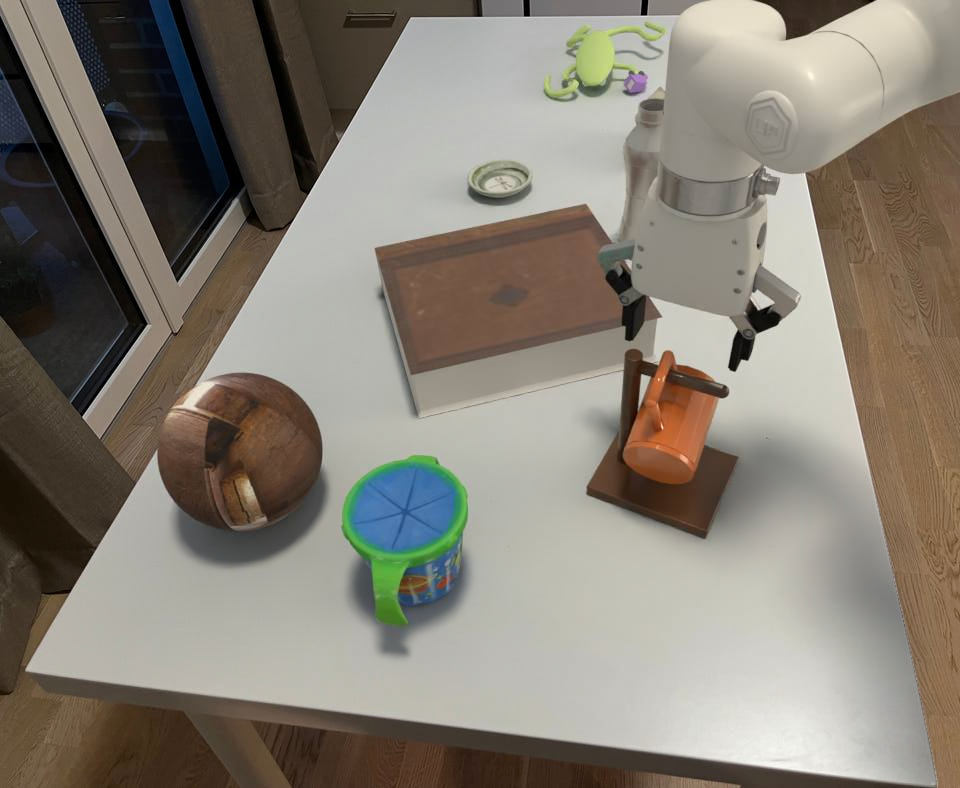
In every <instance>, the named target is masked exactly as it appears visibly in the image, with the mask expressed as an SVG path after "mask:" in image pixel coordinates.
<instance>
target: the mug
mask: <svg viewBox="0 0 960 788" xmlns="http://www.w3.org/2000/svg"><path fill="white" fill-rule="evenodd" d="M657 365H658V368H657V370H656V373H655V376H654V378H652V377H650V378H649V381H648V383H647V386H646V389H645V392H644V395H643V398H642V399H641V402H640V405H639V407H638V413H637V416H636V418H635V421H634V424H633V426H632V429H631V432H630V435H629V437H628V440H627V443H626V445H625V448H624V451H623V459H624V461H625V462H626V464H627V465H628V466H629V467H630V468H632V469H633V470H634V471H636V472H637V473H639V474H641V475H643V476H645V477H647V478H650V479H652V480H655V481H659V482H663V483H668V484H684V483H687V482H689V481H691V480H692V479H693V476H694V473H695V471H696V469H697V466H698V463H699V460H700V456H701V453H702V450H703V447H704V445H705V443H706V441H707V438H708V435H709V431H710V429H711V426H712V422H713V419H714V415H715V413H716V410H717V406H718V404H719V400H720V398H718V397H714V396H711V395H708V394H705V393H701V392H698V391H695V390H692V389H688V388H685V387H682V386H678V385H675V384H672V383H669V382H665V380H666V378H667V375H668V372H669V369H673V370H677V371H680V372H683V373H687V374H690V375H694V376H697V377H700V378H704V379H707V380H710V381H714V382H716V381H715V379H714V378H713V377H711V376H710V375H709V374H707V373H705V372H704V371H702V370H700V369H697V368H695V367H691V366H689V365H684V364H677V362H676V357H675V354H674V352H673V351H672V350H669V349H666V350H664V351H663V352H662V355H661V356H660V360H659V363H658V364H657Z"/></svg>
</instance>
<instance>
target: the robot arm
mask: <svg viewBox="0 0 960 788" xmlns="http://www.w3.org/2000/svg"><path fill="white" fill-rule="evenodd" d="M782 16H783V15H781V14H780V12H779V11H778V10H776V9H775V8H774V7H772V6H770V5H768V4H767V3H763V2H760V1H757V0H705V1H701V2H698V3H696V4H692V5H691V6H690V7H688V8H686V9H685V10H684V11H682V12H681V13H680V14H679V16H678V17H677V18H676V19H675V21H674V24H673V26H672V28H671V32H670V37H669V44H668V53H667V54H668V55H667V67H666V75H665V76H666V77H665V87H664V91H665V98H664V109H663V120H662V131H661V143H660V155H659V165H658V176H657V177H656V178H655V179H654V180H653V182H652V185H651V186H650V188H649V191H648V194H647V196H646V200H645V203H644V206H643V210H642V214H641V218H640V222H639V227H638V231H637V236H636V239H631V240H627V241H622V242H620V241H618V242H614V243H613V242H612V243H613V244H609V245H604V246H603V247H602V248H601V249H600V251H599V252H598V253H597V255H596V257H597V260H598V262H599V264H600V266H601V268H602V270H603V272H605V274H606V276H605V279H606V281H607V283H608V284H609V285H610V286H611V287H612V288H613V290H614V291H615V292H616V293H617V294H618V295H619V296H618V301H619V303H620V304H621V305H623V308H622V326H625V327H626V328H625V340H626V341H630V342H631V340H632V341H633V340H634V339H635V337H636V335H637V334H638V332H639V331H640V329H641V327H642V326H643V324H644V318H645V306H646V295H647V296H649V298H653V299H657V300H660V301H663V302H668V303H671V304H674V305H679V306H682V307H686V308H689V309H693V310H698V311H701V312H704V313H705V312H706V313H709V314H714V315H717V316H723V317H729V319H730V320H731V322H732V324H734V326H735V327H736V329H737V330H736V332H735V334H734V336H733V339H732V344H731V350H730V354H729V359H728V360H729V361H728V365H727V369H729V371H730V372H733V373H736V372H737V371H738V368H739V367H740V364H741V362H742V360H743V361H746V362H749V360H750V358H751V356H752V354H753V351H754V346H755V342H756V336H757V335H758V334H760V333H762V332H765V331H768V330H770V329H772V328H776V327H777V326H778V325H779V324H780V322H781V321H782V320H784V319H785V318H787V316H789V315H790V314H792V312H793V311H794V310H796V309H797V307H798V306H799V303H800V301H801V298H802V295H801V293H800V292H798V290H797V289H795V288H793V287H792V286H790V285H789V284H788V283H787V282H785V281H783V280H782V279H781V278H780V277H778V276H776V275H775V274H774V273H773V272H771V271H770V270H769V269H767V268H766V267H764V258H765V252H766V243H767V234H768V198H767V195H770V196H776V194H777V193H778V190H779V186H780V182H781V177H779V176H773V175H771V173H767V168H768V169H770V170H773V171H775V172H778V173H781V174H787V175H801V174H806V173H810V172H813V171H815V170H817V169H820V168H822V167H823V166H825V165H828V164H829V163H831V162H832V161H833V160H835V159H836V158H838V157H839V156H841V155H843V154H844V153H846V152H848V151H849V150H850V149H852V148H854V147H856V146H857V145H858V144H860V143H861V142H862V141H864V140H866V139H867V138H869V137H870V136H872V135H873V134H875V133H877V132H878V131H880V130H881V129H883V128H884V127H885V126H888V125H889V124H891V123H893V122H894V121H896V120H898V119H899V118H901V117H903V116H904V115H906V114H907V113H910V112H912V111H914V110H916V109H919V108H921V107H924V106H927V105H929V104H931V103H934V102H937V101H940V100H942V99H945V98H948V97H951V96H953V95H956V94H958V93H960V0H874V1H872V2H869V3H868V4H866V5H864V6H862V7H860V8H857V9H855V10H854V11H851V12H849V13H848V14H845V15H843V16H842V17H839V18H837V19H834V20H833V21H831V22H829V23H827V24H825V25H824V26H821V27H820V28H818V29H816V30H814V31H812V32H810V33H808V34H805V35H802V36H799V37H794V38H790V39H786V38H787V27H786V23H785V20H784V18H783V17H782ZM622 260H624V261H627V260H631V267H630V269H631V275H630V274H629V273H628V272H627V271H626V269H625V268H624V267H623V266H622V265H620V264H619V263H620V261H622ZM757 291H759V292H760V293H761V294H763V295H764V296H766V297H767V298H768V299H770V300H771V301H772V302H774V303H772V304H770V305H768V306H765V307H763V308H762V307H761V306H760V305H759V304H758V302H757V301H756V298H754V296H753V293H754V294H755V293H756V292H757Z"/></svg>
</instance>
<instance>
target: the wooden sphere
mask: <svg viewBox="0 0 960 788" xmlns="http://www.w3.org/2000/svg"><path fill="white" fill-rule="evenodd" d="M160 428H161V429H160V433H159V436H158V441H157V451H156V457H157V458H156V459H157V466H158V472H159V475H160V478H161V481H162V484H163V486H164V487H165V490H166V491H167V493H168V495H169V497H170V499H172V501H173V502H174V504H176V505H177V506H178V507H179V509H180V510H181V511H183V512H184V513H185V514H186V515H188V516H189V517H190V518H192V519H194V520H195V521H197V522H199V523H201V524H203V525H205V526H207V527H211V528H213V529H216V530H221V531H226V532H249V531H255V530H261V529H263V528H266V527H267V528H268V527H269V526H273V525H274V524H277V523H278V522H281V521H282V520H283V519H285V518H287V517H288V516H289V515H291V514H292V513H293V512H295V511H296V510H297V509H298V508H299V507H300V506H301V505H303V503H304V502H305V501H306V499H307V498H308V496H309V495H310V493H311V492H312V490H313V488H314V487H315V485H316V483H317V481H318V478H319V475H320V471H321V467H322V463H323V453H324V452H323V451H324V450H323V438H322V433H321V429H320V426H319V423H318V421H317V417H316V416H315V414H314V413H313V411H312V409H311V407H309V405H308V404H307V402H306V401H305V400H304V398H302V396H301V395H299V394H298V393H297V392H296V391H295V390H294V389H293V388H291V387H289V386H288V385H286V384H285V383H283V382H282V381H279V380H278V379H275V378H273V377H270V376H267V375H263V374H259V373H255V372H254V373H253V372H231V373H224V374H219V375H216V376H213V377H211V378H208V379H206V380H204V381H201V382H199V383H197V384H196V385H195V386H193V387H192V388H190V389H189V390H187V391H186V392H185V393H184V394H183V395H182V396H181V397H180V398H179V399H178V400H177V401H176V402H175V403H174V404H173V406H172V407H171V409H170V410H169V412H168V413H167V415H166V417H165V419H164V421H163V423H162V425H161V427H160Z"/></svg>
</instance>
